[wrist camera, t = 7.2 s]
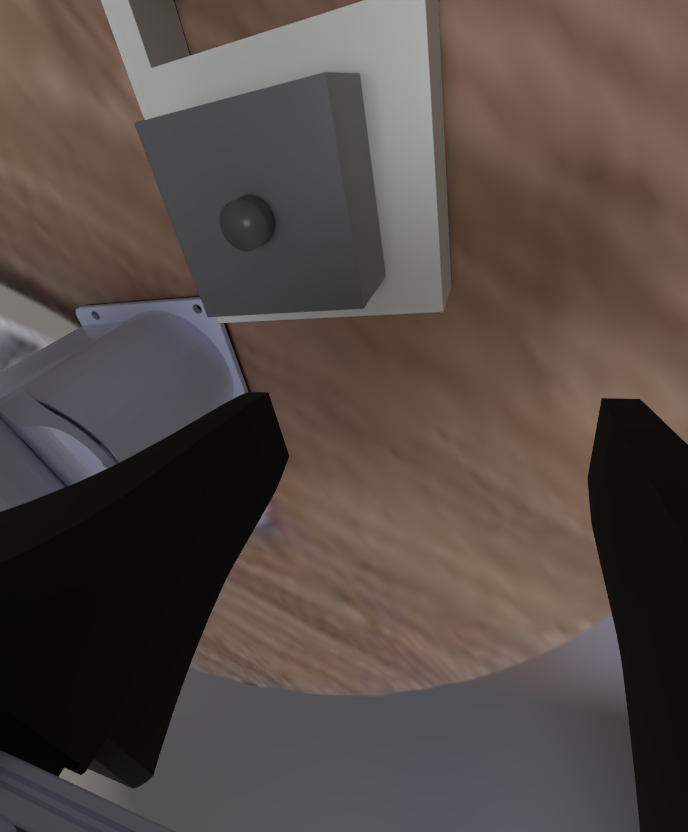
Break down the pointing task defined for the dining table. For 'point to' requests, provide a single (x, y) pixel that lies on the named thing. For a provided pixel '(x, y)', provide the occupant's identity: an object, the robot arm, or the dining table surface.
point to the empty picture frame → (300, 158)
